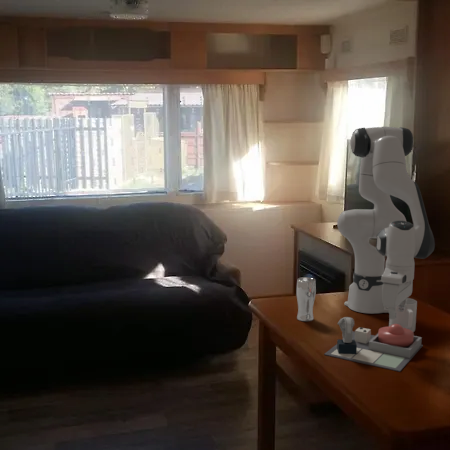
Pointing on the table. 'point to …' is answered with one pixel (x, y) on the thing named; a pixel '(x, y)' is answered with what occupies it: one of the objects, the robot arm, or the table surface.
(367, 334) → the game board
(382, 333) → the dome
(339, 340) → the watch
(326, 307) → the table surface
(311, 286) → the beer glass
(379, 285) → the robot arm
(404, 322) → the mug
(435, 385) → the table surface
